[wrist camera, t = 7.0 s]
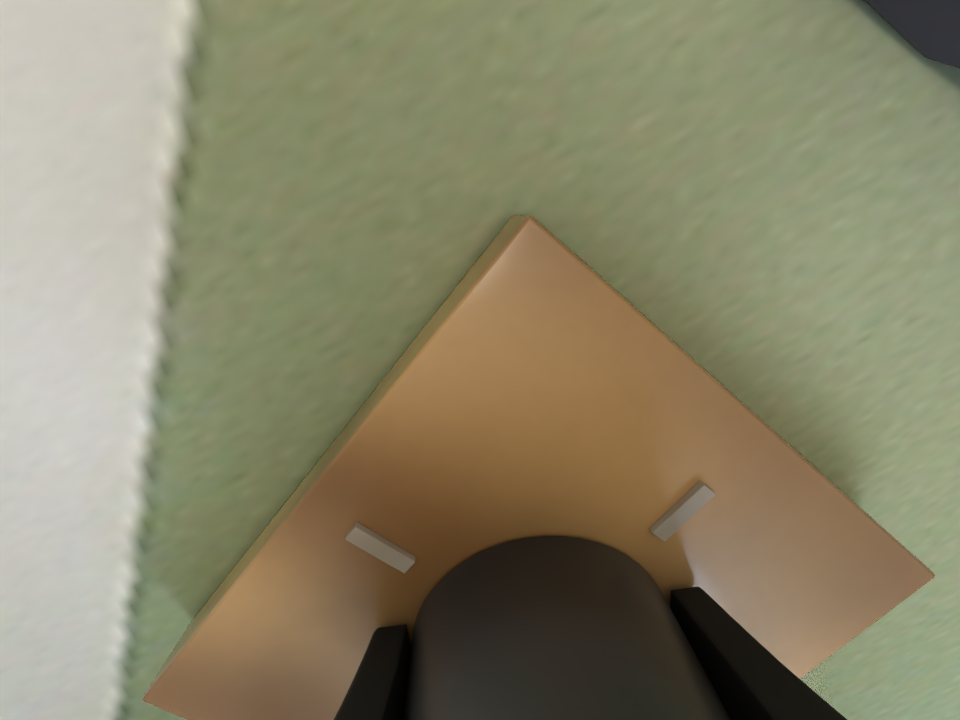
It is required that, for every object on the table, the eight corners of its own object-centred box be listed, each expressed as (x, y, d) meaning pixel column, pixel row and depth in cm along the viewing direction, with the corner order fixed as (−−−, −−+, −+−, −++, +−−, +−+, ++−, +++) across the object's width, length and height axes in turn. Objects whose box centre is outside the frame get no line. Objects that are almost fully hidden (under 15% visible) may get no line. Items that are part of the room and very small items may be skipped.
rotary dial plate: (534, 786, 14) (547, 881, 12) (190, 621, 12) (134, 709, 9) (859, 517, 12) (946, 582, 10) (513, 213, 9) (531, 213, 7)
